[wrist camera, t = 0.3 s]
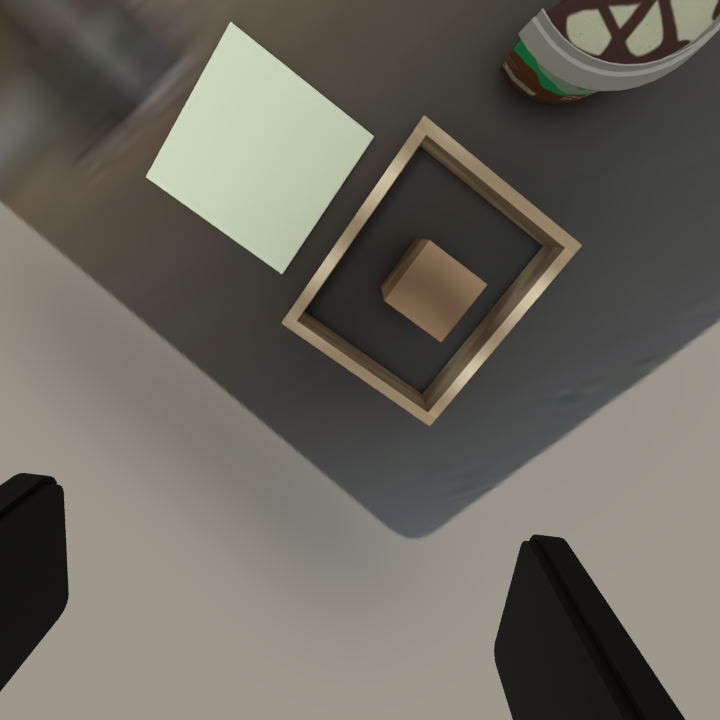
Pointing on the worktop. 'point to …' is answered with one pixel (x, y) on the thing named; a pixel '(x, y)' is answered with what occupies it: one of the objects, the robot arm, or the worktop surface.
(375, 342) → the worktop surface
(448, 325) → the walnut block
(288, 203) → the mat
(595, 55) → the food container
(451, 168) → the access box
